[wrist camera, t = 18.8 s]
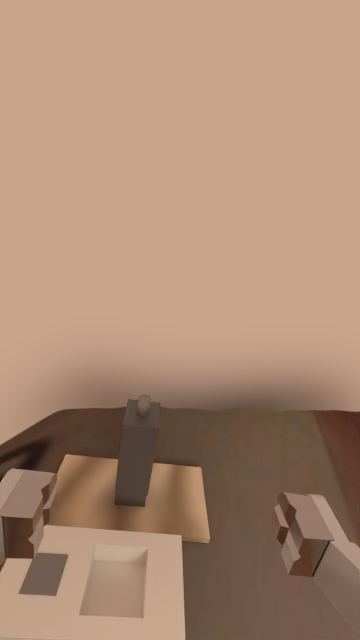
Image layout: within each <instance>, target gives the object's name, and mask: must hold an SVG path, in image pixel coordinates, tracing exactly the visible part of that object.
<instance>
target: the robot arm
mask: <svg viewBox="0 0 360 640" xmlns="http://www.w3.org/2000/svg"><path fill="white" fill-rule="evenodd" d="M56 482H57V474H56V473H49V472H40V471H31V470H21V469H11V470H10V471H8V472H7V473H6V475H5V476H4V478H3V479H2V481H1V482H0V565H1V564H2V563H3V562H4V561H5V560H6V558H17V559H34V558H35V556H36V553H37V551H38V549H39V546H40V544H41V541H42V539H43V537H44V526H45V525H46V524H48V523H49V522H50V519H51V517H52V514H53V511H54V508H55V504H56V499H57V490H56V488H55V484H56ZM278 502H279V505H277V506H276V507H275V508H274V511H273V514H272V524H273V530H274V533H275V536H276V538H277V540H278V541H279V542H280V543H281V544H282V545H283V546H282V550H281V554H282V557H283V560H284V563H285V566H286V569H287V572H288V575H296V576H307V577H313V580H314V581H315V582H316V584H317V585H318V586H319V588H320V589H321V590H322V591H323V593H324V594H325V595H326V597H327V598H328V599H329V601H330V602H331V603H332V604H333V606H334V607H335V608H336V610H337V611H338V612H339V613H340V615H341V616H342V617H343V619H344V620H345V621H346V623H347V624H348V625H349V626H350V628H351V629H352V630H353V632H354V633H355V634H356V635H357V637H358V638H359V639H360V548H359V547H358V546H357V545H356V544H354V543H351V542H349V540H348V539H347V537H346V535H345V533H344V532H343V530H342V528H341V526H340V525H339V523H338V521H337V519H336V517H335V516H334V514H333V512H332V510H331V509H330V507H329V505H328V503H327V501H326V500H325V498H324V497H323V496H322V495H313V494H304V493H290V492H281V493H280V494H279V497H278Z"/></svg>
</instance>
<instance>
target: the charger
mask: <svg viewBox="0 0 360 640" xmlns="http://www.w3.org/2000/svg"><path fill="white" fill-rule="evenodd" d="M159 419H160V403H155V402H151V398H150V397H149V396H147V395H141V396H139V399H138V400H130V399H129V400H128V403H127V407H126V411H125V416H124V420H123V424H122V432H121V441H120V449H119V458H118V467H117V475H116V484H115V502H114V505H125V506H137V507H145V502H146V496H148V491H149V485H150V479H151V473H152V467H153V461H154V455H155V449H156V443H157V437H158V432H159Z"/></svg>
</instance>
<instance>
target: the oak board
mask: <svg viewBox="0 0 360 640" xmlns="http://www.w3.org/2000/svg"><path fill="white" fill-rule="evenodd" d="M117 467H118V459H109V458H98V457H88V456H78V455H68V454H66V455H65V458H64V460H63V462H62V464H61V466H60V469H59V471H58V473H57V482H56V484H55V488H56V490H57V499H56V504H55V508H54V511H53V514H52V517H51V519H50V522H49V523H48V524H46V525H52V526H65V527H78V528H92V529H105V530H118V531H131V532H145V533H158V534H171V535H181V538H182V541H187V542H200V543H209V540H210V535H209V527H208V519H207V511H206V503H205V496H204V488H203V480H202V472H201V467H191V466H181V465H170V464H160V463H153V467H152V473H151V479H150V485H149V491H148V496H146V502H145V507H137V506H125V505H114V502H115V484H116V475H117Z"/></svg>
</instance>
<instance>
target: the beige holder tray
mask: <svg viewBox="0 0 360 640" xmlns="http://www.w3.org/2000/svg"><path fill="white" fill-rule="evenodd" d="M0 640H185V618H184V591H183V565H182V538H181V535H171V534H158V533H145V532H131V531H118V530H105V529H92V528H78V527H65V526H52V525H45V526H44V537H43V539H42V541H41V544H40V546H39V549H38V551H37V553H36V556H35V558H34V559H17V558H7V560H6V562H5V564H4V566H3V568H2V570H1V572H0Z"/></svg>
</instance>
